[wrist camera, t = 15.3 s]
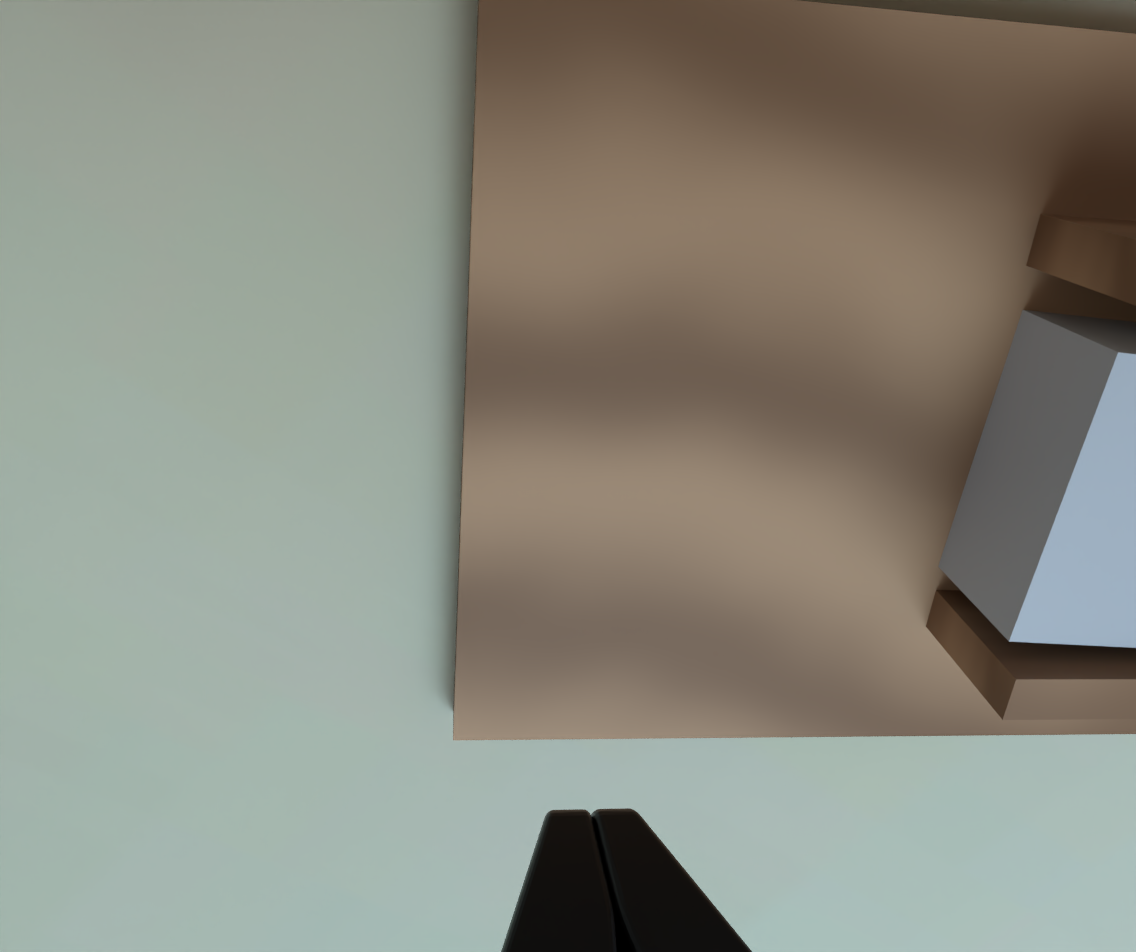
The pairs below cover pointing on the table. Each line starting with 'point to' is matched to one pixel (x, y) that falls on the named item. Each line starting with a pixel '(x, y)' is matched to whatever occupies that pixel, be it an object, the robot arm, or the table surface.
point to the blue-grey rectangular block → (1055, 488)
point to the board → (766, 361)
